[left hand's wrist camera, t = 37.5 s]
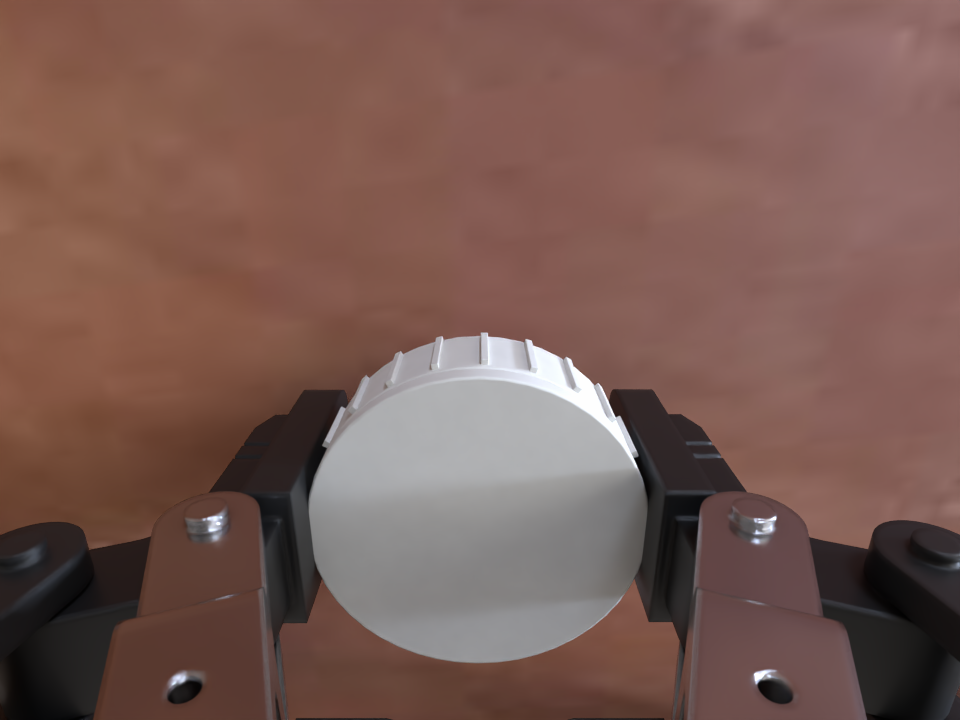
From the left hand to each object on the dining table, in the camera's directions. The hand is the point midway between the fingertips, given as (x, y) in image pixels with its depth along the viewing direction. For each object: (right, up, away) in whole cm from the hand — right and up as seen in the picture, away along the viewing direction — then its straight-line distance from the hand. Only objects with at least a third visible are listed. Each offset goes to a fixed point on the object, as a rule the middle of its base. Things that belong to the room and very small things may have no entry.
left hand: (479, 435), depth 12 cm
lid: (0, -1, -2) cm, 3 cm away
